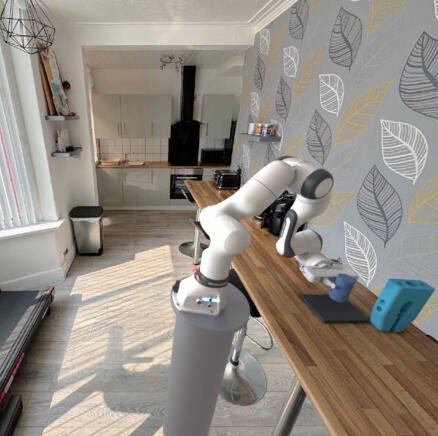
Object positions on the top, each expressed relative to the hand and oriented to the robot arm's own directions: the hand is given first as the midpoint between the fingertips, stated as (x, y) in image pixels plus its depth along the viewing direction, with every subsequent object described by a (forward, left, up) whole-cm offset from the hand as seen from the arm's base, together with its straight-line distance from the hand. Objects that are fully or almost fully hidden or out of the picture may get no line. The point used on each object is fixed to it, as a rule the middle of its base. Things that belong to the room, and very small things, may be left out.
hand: (344, 287), depth 91 cm
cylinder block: (0, +1, -6) cm, 6 cm away
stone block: (+10, +29, -12) cm, 33 cm away
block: (+14, -8, -12) cm, 20 cm away
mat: (0, +1, -12) cm, 12 cm away
